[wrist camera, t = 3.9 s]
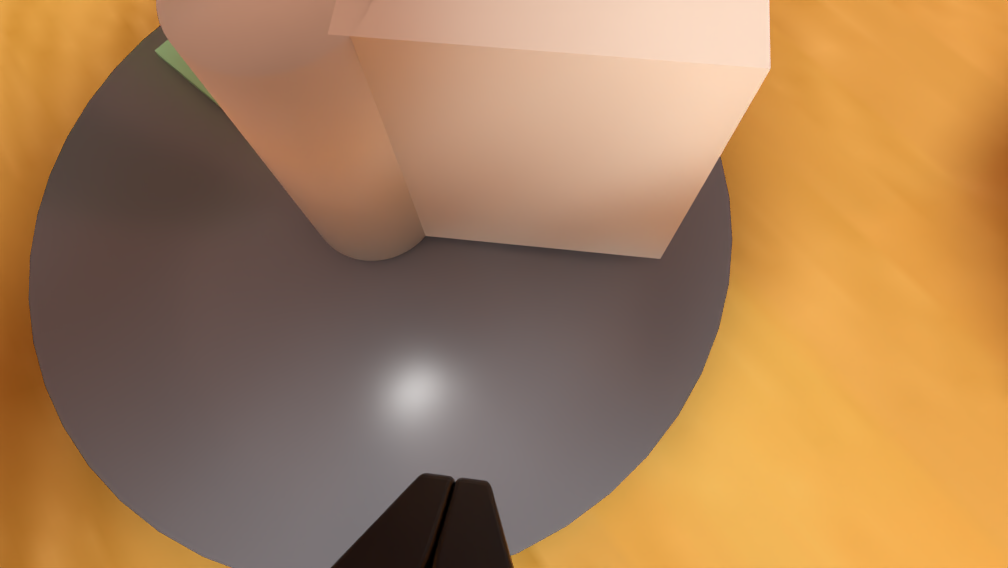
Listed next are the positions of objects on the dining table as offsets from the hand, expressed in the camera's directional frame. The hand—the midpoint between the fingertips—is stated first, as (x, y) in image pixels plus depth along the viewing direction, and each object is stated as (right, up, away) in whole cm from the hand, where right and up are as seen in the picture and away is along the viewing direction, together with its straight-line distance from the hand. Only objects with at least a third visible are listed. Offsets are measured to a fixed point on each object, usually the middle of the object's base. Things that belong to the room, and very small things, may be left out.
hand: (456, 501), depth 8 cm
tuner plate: (-3, +5, +11) cm, 13 cm away
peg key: (+1, +8, +11) cm, 14 cm away
